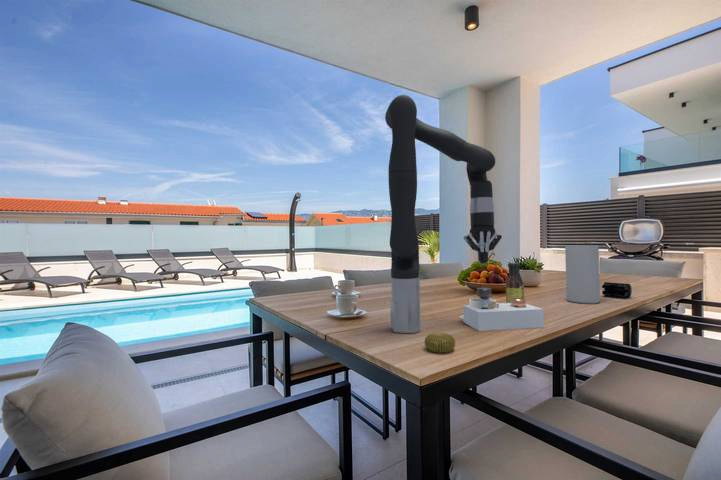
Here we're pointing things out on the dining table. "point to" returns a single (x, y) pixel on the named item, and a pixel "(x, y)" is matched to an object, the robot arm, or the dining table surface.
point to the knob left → (484, 296)
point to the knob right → (518, 302)
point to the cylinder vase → (582, 274)
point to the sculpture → (440, 342)
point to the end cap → (616, 290)
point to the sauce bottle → (514, 283)
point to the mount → (503, 317)
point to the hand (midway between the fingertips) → (483, 263)
